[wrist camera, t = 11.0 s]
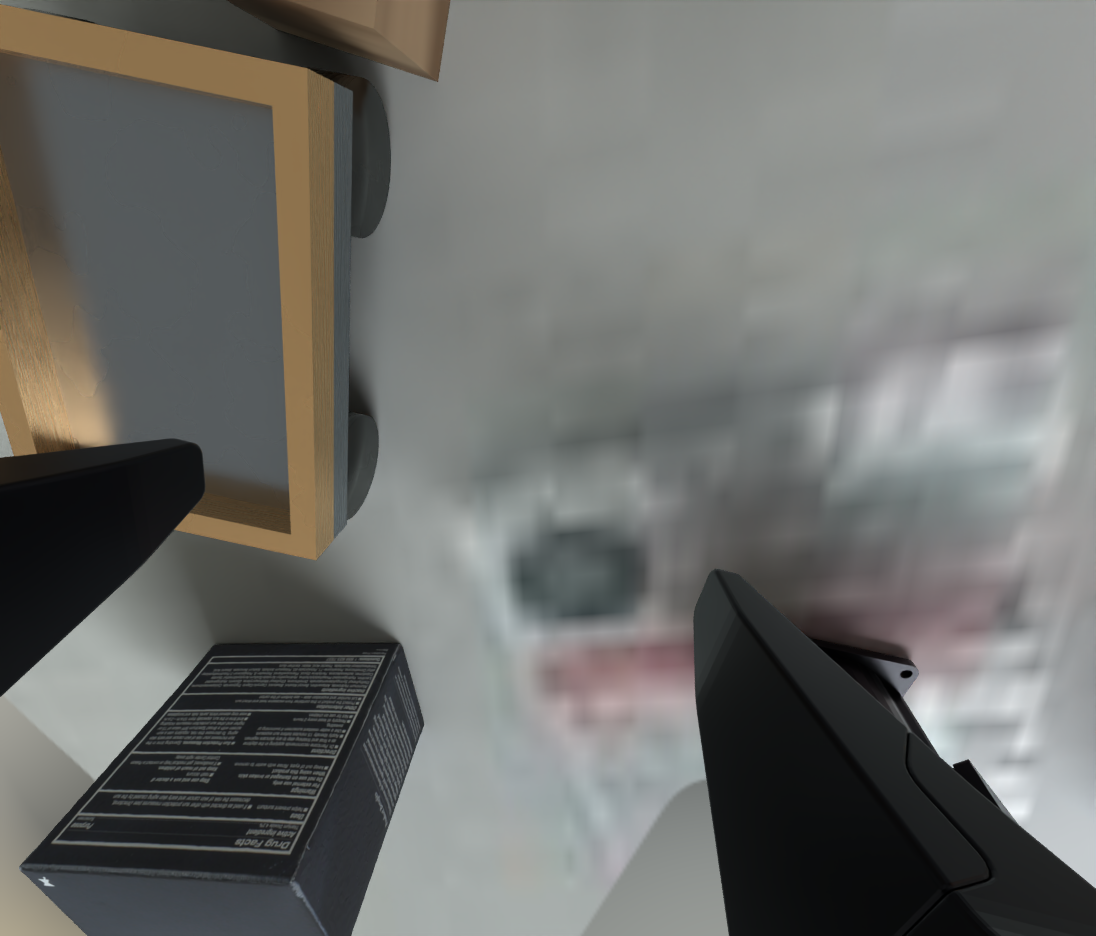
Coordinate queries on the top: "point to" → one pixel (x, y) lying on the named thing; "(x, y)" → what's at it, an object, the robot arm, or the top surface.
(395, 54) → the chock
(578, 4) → the top surface
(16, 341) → the wooden frame tray
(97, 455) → the robot arm
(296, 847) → the small box
